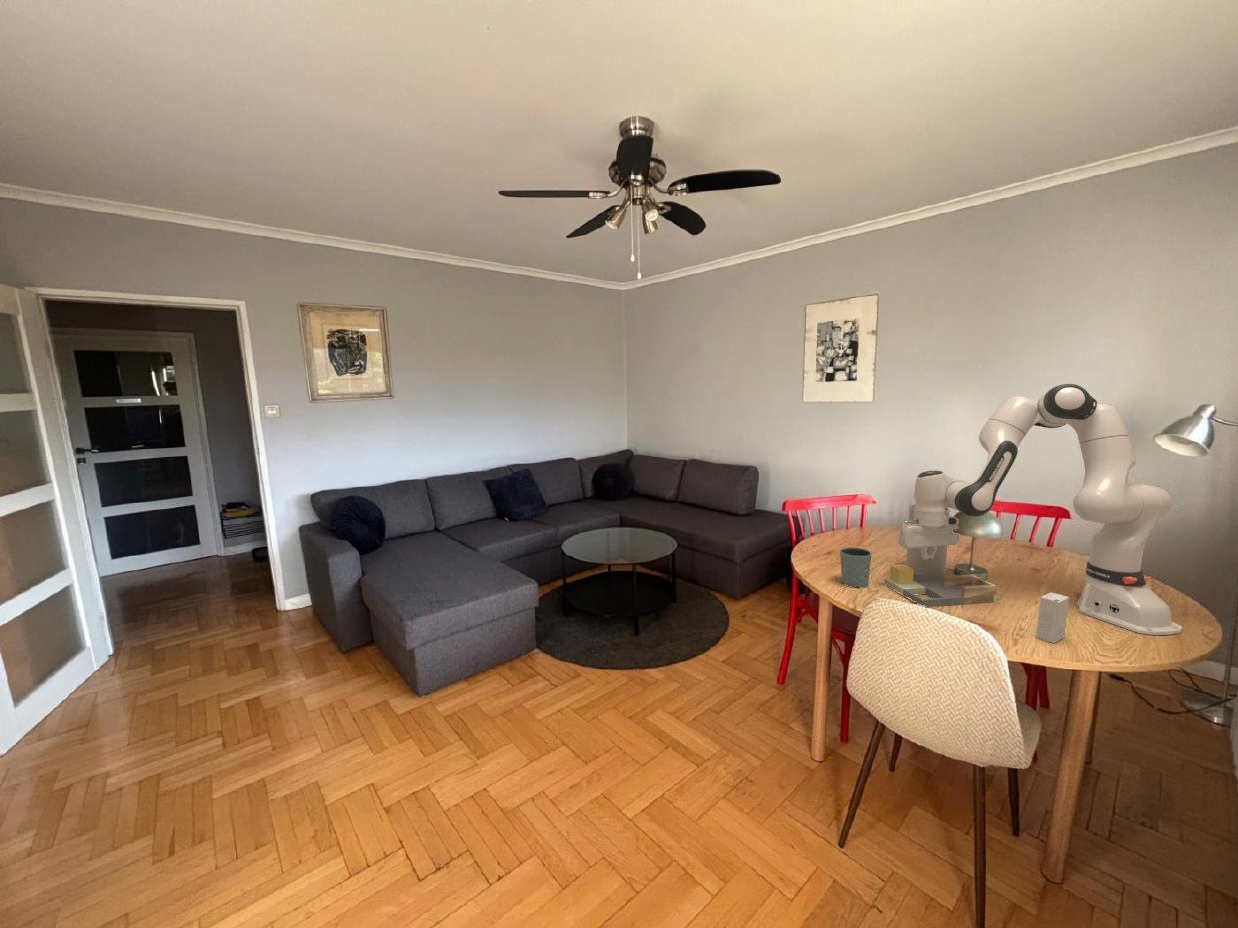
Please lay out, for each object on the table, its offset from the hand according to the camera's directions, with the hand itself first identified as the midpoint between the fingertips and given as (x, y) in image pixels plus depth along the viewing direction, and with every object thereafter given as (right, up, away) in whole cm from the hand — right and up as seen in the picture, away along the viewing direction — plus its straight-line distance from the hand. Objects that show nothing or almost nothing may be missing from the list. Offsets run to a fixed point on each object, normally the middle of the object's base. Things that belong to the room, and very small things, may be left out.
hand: (927, 558), depth 168 cm
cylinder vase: (+10, -9, +18) cm, 22 cm away
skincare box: (+14, -16, -32) cm, 38 cm away
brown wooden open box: (+11, -12, -4) cm, 16 cm away
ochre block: (-6, -9, +5) cm, 12 cm away
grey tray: (+3, -11, 0) cm, 12 cm away
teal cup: (-20, -11, +10) cm, 25 cm away
